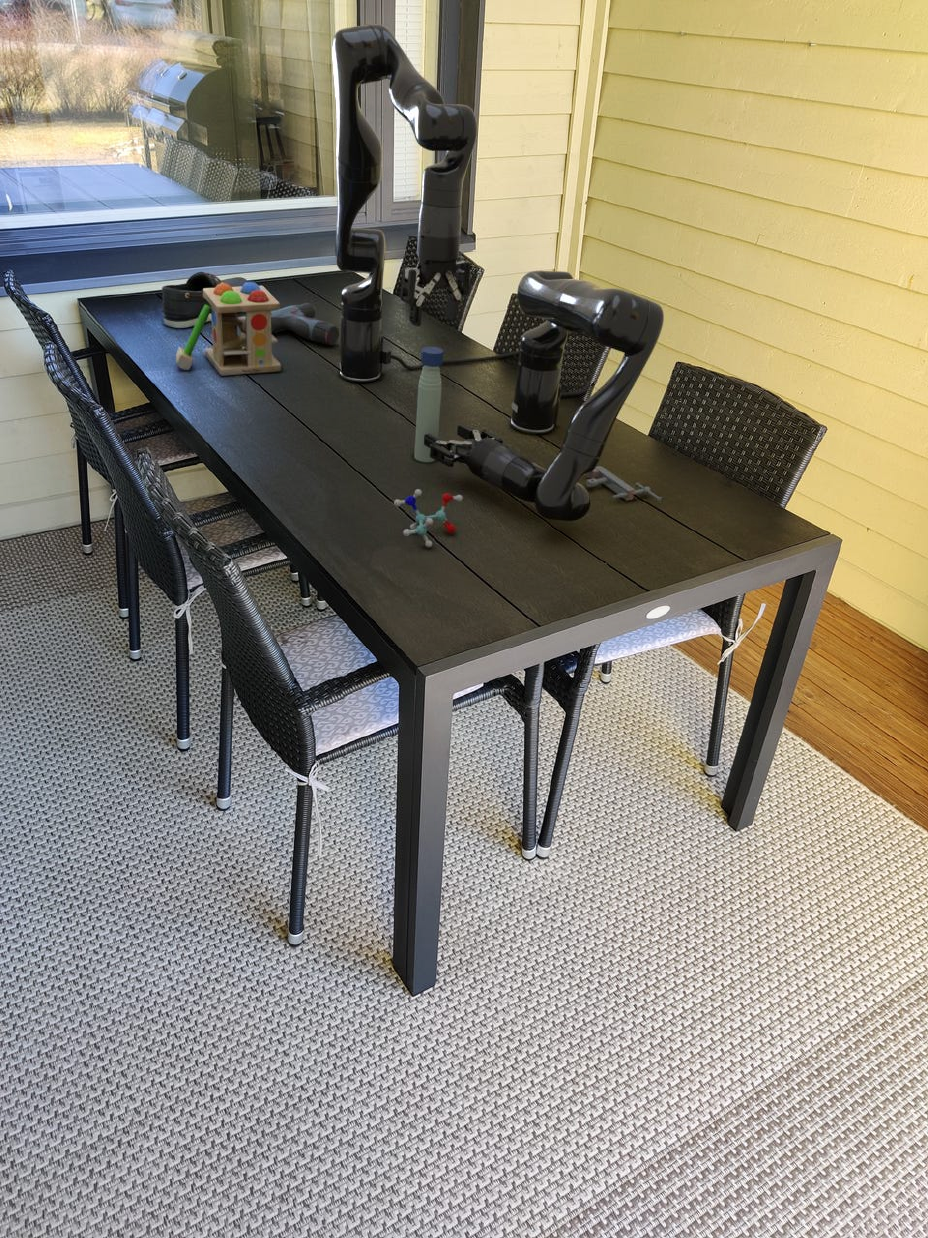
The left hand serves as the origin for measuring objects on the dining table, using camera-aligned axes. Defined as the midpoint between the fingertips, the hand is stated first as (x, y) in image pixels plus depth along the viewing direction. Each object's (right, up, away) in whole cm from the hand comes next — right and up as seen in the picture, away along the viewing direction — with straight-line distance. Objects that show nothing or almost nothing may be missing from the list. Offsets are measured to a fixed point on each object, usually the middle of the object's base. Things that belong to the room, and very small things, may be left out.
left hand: (433, 321), depth 182 cm
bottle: (-2, -23, +16) cm, 28 cm away
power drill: (-34, +18, +71) cm, 81 cm away
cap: (0, -5, +3) cm, 6 cm away
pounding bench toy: (-50, +4, +48) cm, 70 cm away
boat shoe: (-62, +26, +79) cm, 104 cm away
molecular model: (-1, -40, -10) cm, 42 cm away
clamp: (+36, -30, +10) cm, 48 cm away
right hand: (+1, -19, +9) cm, 21 cm away
